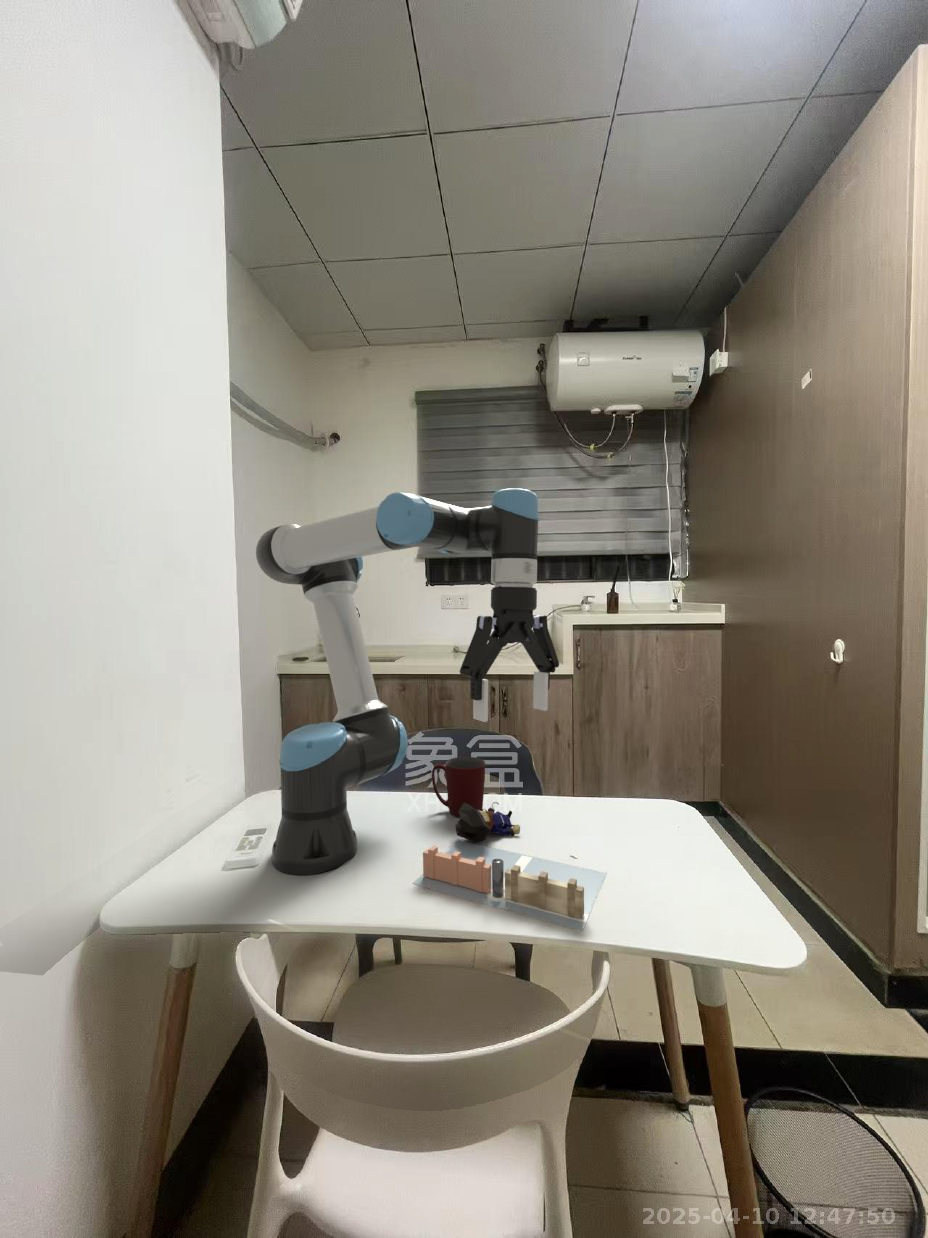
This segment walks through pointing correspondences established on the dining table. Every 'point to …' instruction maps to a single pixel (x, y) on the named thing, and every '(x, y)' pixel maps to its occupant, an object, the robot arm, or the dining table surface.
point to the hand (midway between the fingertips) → (511, 714)
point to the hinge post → (497, 878)
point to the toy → (483, 823)
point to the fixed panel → (544, 892)
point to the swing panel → (457, 869)
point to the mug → (462, 783)
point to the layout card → (530, 866)
